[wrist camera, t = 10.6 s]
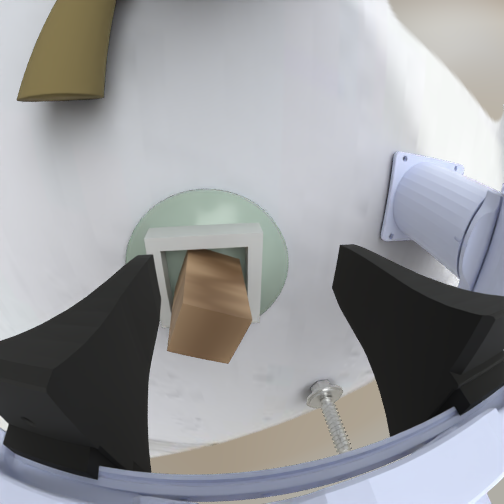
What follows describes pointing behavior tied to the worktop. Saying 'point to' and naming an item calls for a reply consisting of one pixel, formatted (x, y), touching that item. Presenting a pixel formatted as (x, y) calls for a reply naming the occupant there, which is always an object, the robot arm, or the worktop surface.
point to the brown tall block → (209, 307)
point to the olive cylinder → (70, 53)
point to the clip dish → (213, 243)
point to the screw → (330, 411)
